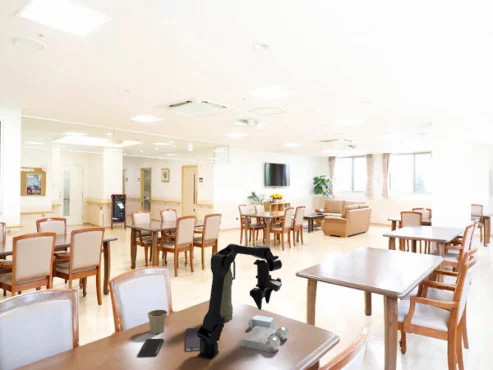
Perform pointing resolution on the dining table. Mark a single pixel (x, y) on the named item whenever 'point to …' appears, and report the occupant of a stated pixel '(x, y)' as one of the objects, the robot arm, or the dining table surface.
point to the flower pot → (157, 320)
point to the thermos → (227, 295)
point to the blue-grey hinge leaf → (261, 322)
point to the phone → (151, 348)
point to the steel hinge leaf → (264, 338)
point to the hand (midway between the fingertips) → (263, 306)
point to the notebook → (192, 339)
